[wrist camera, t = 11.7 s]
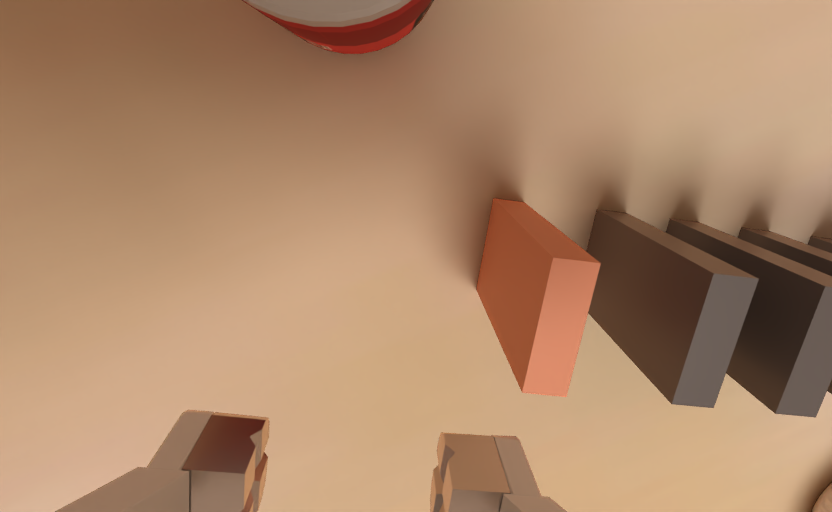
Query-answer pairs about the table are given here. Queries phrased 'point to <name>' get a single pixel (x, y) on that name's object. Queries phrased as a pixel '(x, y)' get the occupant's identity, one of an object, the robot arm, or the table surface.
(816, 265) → the tile
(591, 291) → the tile
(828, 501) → the ramekin
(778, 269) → the tile
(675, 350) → the tile
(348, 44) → the canned food
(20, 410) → the table surface
